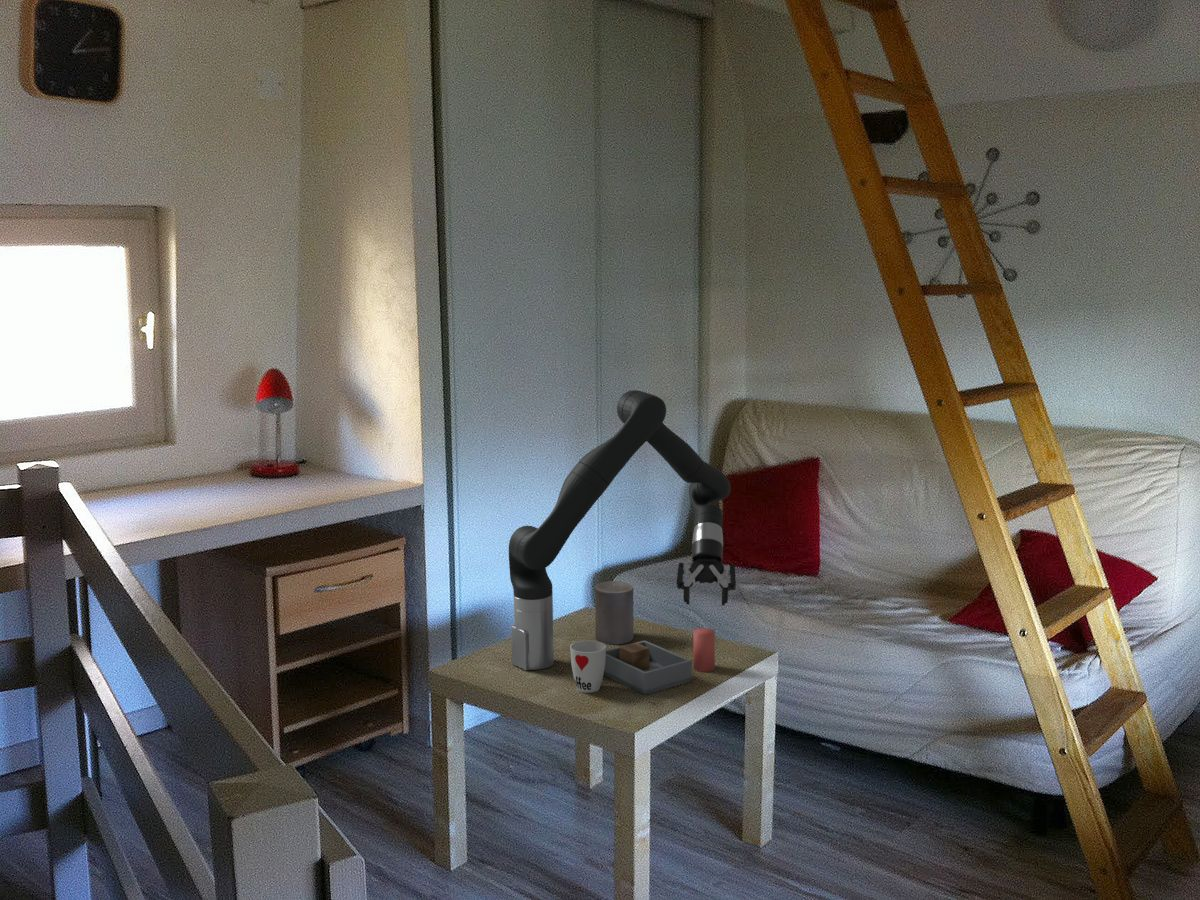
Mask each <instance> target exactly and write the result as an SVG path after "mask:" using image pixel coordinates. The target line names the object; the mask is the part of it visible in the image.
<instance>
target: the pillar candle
mask: <svg viewBox="0 0 1200 900" xmlns="http://www.w3.org/2000/svg"><path fill="white" fill-rule="evenodd" d="M594 590H595V592H594V593H595V616H594V617H595V618H594V619H595V641H598V642H602V643H604V644H605V645H622V644H623V645H624V644H629V643H630V642H631V641H632V640H633V639H634V584H631V583H629V582H625V581H622V580H621V581H619V580H608V581H602V582H600V583H598V584H596V585H595V589H594Z"/></svg>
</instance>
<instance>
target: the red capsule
mask: <svg viewBox="0 0 1200 900" xmlns="http://www.w3.org/2000/svg"><path fill="white" fill-rule="evenodd" d="M692 633H693V636H692V637H693V646H692V647H693V653H692V654H693V655H692V657H693V660H692V669H693V668H694V669H695V670H694V669H693V670H694V671H696V670H697V671H696V672H699V671H701V672H700V673H710V672H712V670H713V671H714V670H715V666H716V665H715V661H716V660H715V659H716V658H715V656H716V652H715V651H716V646H715V645H716V641H715V640H716V632H715V630H714V629H712V628H707V627H706V628H704V627H703V628H702V627H701V628H696V629H694V630H693V632H692ZM709 671H710V672H709Z"/></svg>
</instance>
